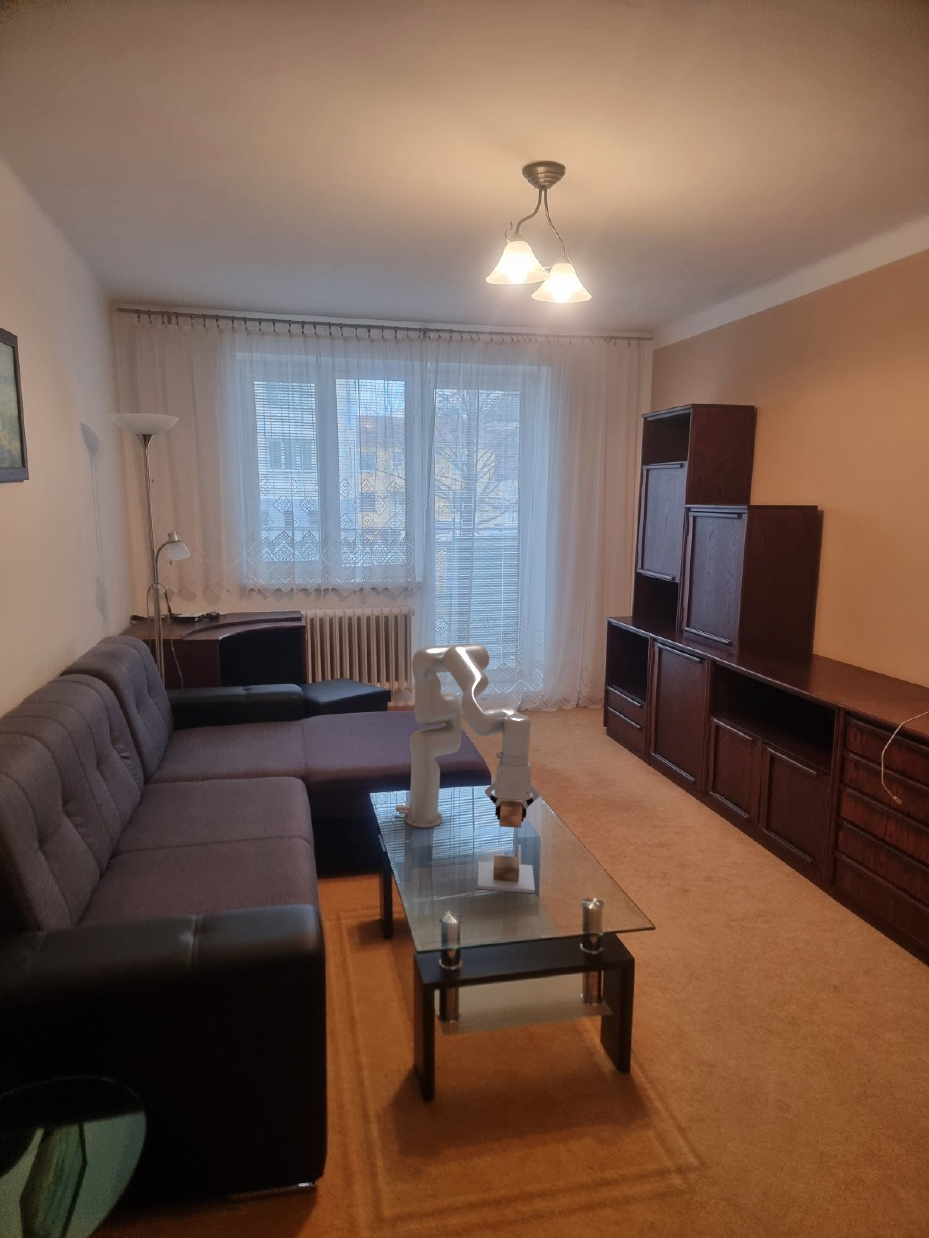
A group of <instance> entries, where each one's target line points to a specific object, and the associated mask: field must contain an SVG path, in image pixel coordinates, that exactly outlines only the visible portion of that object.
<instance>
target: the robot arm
mask: <svg viewBox="0 0 929 1238" xmlns="http://www.w3.org/2000/svg"><path fill="white" fill-rule="evenodd" d="M489 664H490V654H489V652H488V650H487V648H485V647H484V646H483V645H482V644H479V643H472V644H469V643H468V644H450V645H449V644H448V645H436V646H428V647H423V648H420V649H417V650H416V652H414V654H413V656H412V659H411V670H412V674H413V680H414V717H415V721H416V722H417V724H419V725H421V726H431V725H439V724H442V725H439V726H433V727H426V728H421V729H419V730H417V731H414V732H413V733H412V734H411V736H410V738H409V750H410V756H411V758H410V759H411V760H410V761H411V766H410V767H411V769H410V773H411V774H410V793H409V803H408V804H409V805H408V804H406V805H396V809H395V811H396V812H398V814H399V815H404V816H403V817H404V818H405V820H404V822H405V821H406V822H407V823H406V822H405V823H406V824H408V825H409V826H412V827H415V828H421V829H422V828H423V829H424V828H425V829H426V828H433V827H437V826H438V825H440V824H441V823H442V821H443V816H442V814H441V813H439V798H440V782H441V781H440V780H441V769H440V766H439V763H437V761H436V760H435V759H436V758H437V757H440V756H445V755H452V754H454V753H456V752H458V751H459V749H460V748H461V745H462V723H463V717H464V719H465V720H466V722H467V724H468V725H469V727H470V729H471V730H473V732H474V733H475V734H476V735H477V736H479V737H491V736H495V735H502V744H501V751H500V752H496V755H495V757H496V759H500V760H499V761H498V763H497V767H496V772H495V778H494V780H495V781H494V782H493V783H492V784H491V785H489V786H488V787H487V788H485V790H484V794H485V796H487V797H488V798H489V799H490V800H491V802H492V803H493V804H494V806H495V812H494V814H495V816H496V819H497V821H499V820H500V810H501V804H500V803H501V801H502V799H510V800H522V821H521V823H522V822H523V823H524V819H526V818H527V809H528V808H529V806H530V805H532V804H533V803H534V802H536V801H537V800H538V799H540V793H539V792H538V791H537V790H536V789H535V788H534V786H533V785H532V768H531V767H532V766H531V763H530V762H529V755H530V754H529V753H530V741H531V740H530V739H531V727H532V721H531V718H530V717H529V716H528V715H525V714H521V713H520V712H519V711H517V710H516V709H515V708H514V707H511V706H498V707H491V708H485V709H483V708H481V706H480V705H479V704H478V702H477V700H476V699H477V697H479V696H480V695H481V694H482V693H484V691H486V689H487V688H488V685H489V677H488V675H486V673H485V671H484V670H485V669H487V667H488V666H489ZM447 672H448V673H450V675H451V676H452V678H453V680H454V681H455V682H456V683H457V685H458V686H459V688H460V689H461V691H462V692H463V693H462V697H461V702H460V700H459V698H458V697H457V695H455V694H454V693H447V692H446V693H442V681H441V680H440V678H439V675H438V673H440V674H441V673H447ZM462 715H463V716H462ZM493 791H494V792H493ZM492 792H493V793H494V794H493V793H492ZM531 794H532V796H531Z"/></svg>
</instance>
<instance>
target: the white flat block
mask: <svg viewBox="0 0 929 1238" xmlns="http://www.w3.org/2000/svg"><path fill="white" fill-rule="evenodd" d="M493 857H494V858H493V859H494V860H493V862H491V861H477V862H478V863H477V888H476V889H477V890H489V891H499V892H501V891H502V892H503V891H504V892H512V893H513V892H514V893H516V892H517V893H529V894H535V892H536V887H535V877H534V869H533V865H532V864H530V865H529V864H520V862H519V860H520V858H519V856H506V855H494V856H493Z"/></svg>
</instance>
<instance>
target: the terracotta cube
mask: <svg viewBox="0 0 929 1238" xmlns="http://www.w3.org/2000/svg"><path fill="white" fill-rule="evenodd" d="M500 804H501V810H500V820H498V821H499V827H500V828H501V827H502V828H518V829H522V822H521V821H522V800H510V799H502V801H501V803H500Z"/></svg>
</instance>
